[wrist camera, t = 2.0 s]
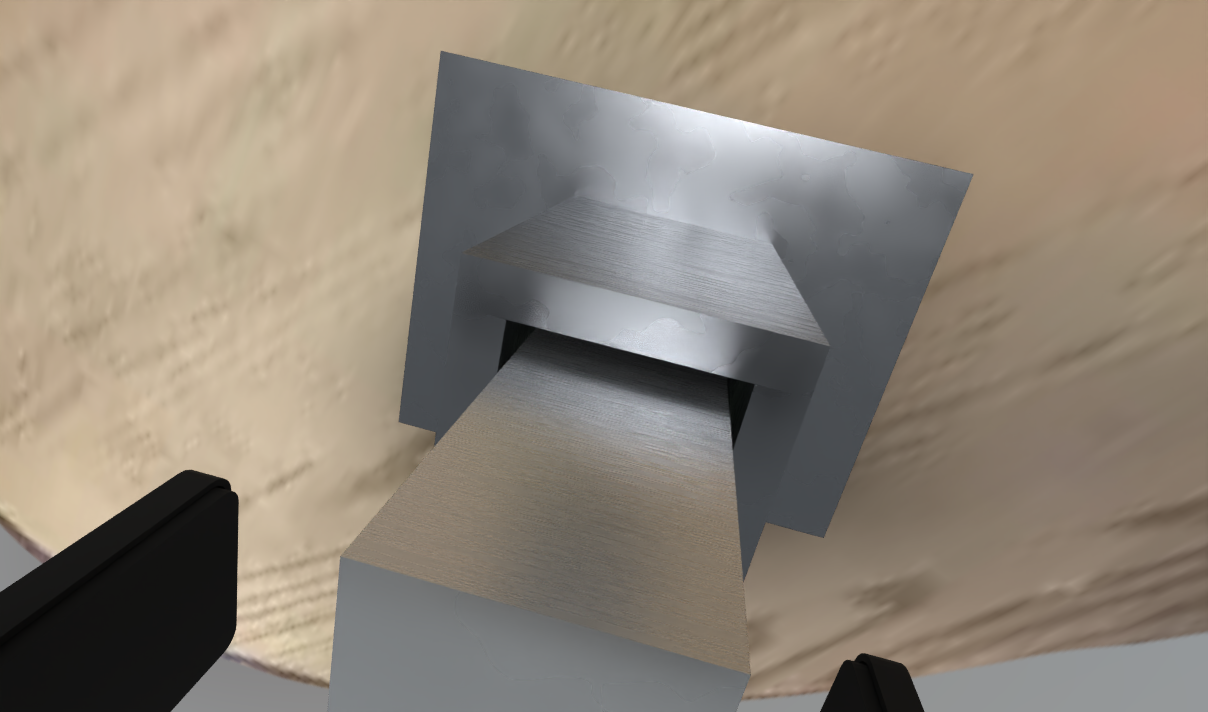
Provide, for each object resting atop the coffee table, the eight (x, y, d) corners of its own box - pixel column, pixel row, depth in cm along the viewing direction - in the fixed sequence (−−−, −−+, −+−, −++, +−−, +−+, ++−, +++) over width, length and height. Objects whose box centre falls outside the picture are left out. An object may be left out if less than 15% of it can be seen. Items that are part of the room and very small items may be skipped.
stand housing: (958, 171, 24) (1251, 220, 11) (818, 518, 30) (904, 819, 17) (455, 54, 26) (193, -23, 13) (412, 408, 31) (201, 609, 18)
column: (721, 275, 25) (763, 670, 7) (689, 386, 27) (652, 940, 8) (602, 245, 25) (332, 546, 7) (577, 356, 27) (310, 830, 9)
